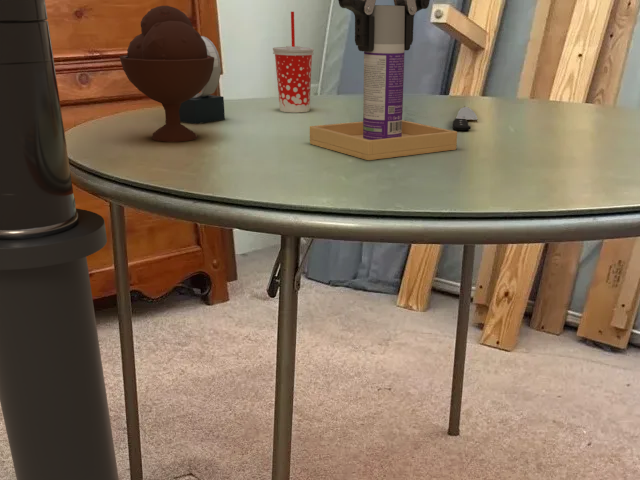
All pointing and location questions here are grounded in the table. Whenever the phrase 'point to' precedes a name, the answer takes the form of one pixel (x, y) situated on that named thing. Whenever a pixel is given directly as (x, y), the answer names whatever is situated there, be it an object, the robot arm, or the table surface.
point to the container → (384, 75)
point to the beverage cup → (293, 75)
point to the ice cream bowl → (168, 66)
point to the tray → (383, 140)
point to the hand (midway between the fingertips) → (383, 49)
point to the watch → (205, 96)
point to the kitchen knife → (464, 119)
